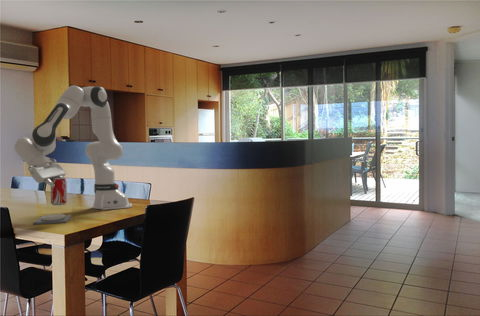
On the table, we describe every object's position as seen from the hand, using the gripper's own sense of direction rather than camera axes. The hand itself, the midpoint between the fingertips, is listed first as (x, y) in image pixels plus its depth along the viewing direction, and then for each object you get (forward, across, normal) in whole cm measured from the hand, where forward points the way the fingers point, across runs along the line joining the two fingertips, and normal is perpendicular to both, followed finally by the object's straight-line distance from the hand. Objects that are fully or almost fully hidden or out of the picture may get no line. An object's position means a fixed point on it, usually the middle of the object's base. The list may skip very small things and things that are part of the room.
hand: (59, 185), depth 204 cm
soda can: (+6, 0, +7) cm, 10 cm away
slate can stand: (+8, +5, +19) cm, 21 cm away
